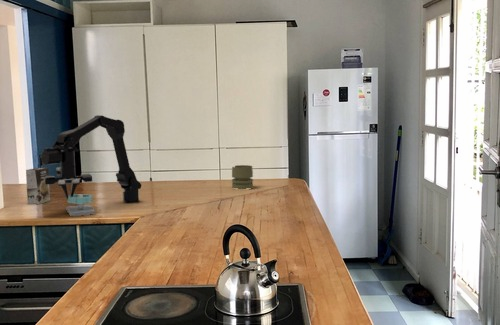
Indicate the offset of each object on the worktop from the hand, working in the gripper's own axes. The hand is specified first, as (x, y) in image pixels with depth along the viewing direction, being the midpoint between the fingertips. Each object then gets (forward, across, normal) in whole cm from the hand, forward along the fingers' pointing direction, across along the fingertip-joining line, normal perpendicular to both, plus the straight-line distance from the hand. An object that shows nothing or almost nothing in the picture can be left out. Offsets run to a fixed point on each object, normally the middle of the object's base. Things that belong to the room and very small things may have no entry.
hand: (69, 199), depth 221 cm
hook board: (+6, -4, 0) cm, 7 cm away
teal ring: (+2, -4, 0) cm, 4 cm away
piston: (+6, -92, -27) cm, 96 cm away
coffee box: (+6, +11, -33) cm, 35 cm away
